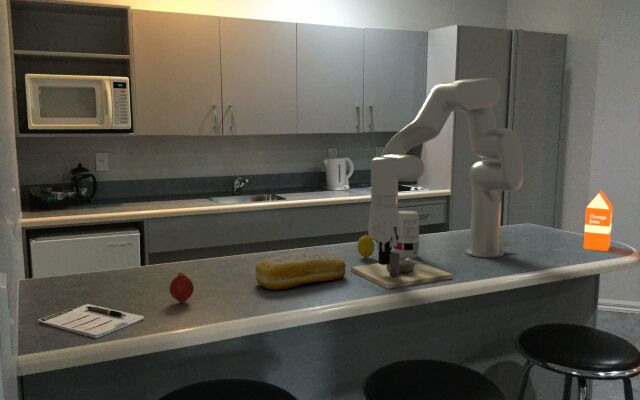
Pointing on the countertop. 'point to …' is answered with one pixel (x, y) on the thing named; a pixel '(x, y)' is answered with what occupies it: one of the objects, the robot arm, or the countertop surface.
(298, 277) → the bread
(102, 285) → the countertop surface
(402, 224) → the supplement can
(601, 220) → the orange juice
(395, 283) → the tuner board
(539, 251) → the countertop surface
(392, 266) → the dark grey handled piece
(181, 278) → the onion
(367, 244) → the lemon
